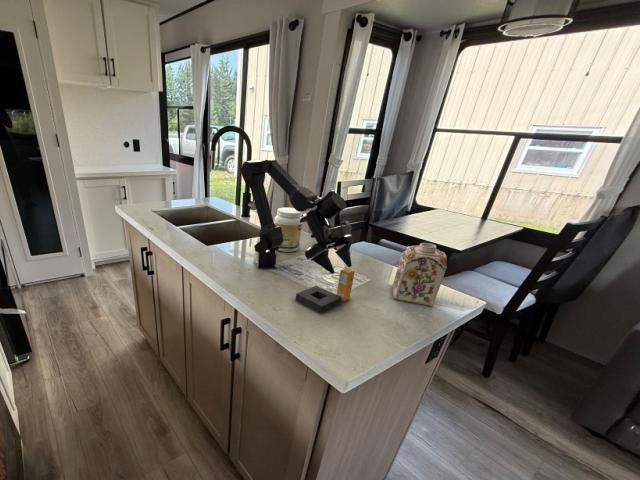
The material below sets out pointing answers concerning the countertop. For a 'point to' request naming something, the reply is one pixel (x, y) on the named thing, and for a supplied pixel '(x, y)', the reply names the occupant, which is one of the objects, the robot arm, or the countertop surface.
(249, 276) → the countertop surface
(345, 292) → the supplement box
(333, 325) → the countertop surface
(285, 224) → the supplement tub
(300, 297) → the socket pad
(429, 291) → the decorative jar
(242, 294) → the countertop surface
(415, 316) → the countertop surface
